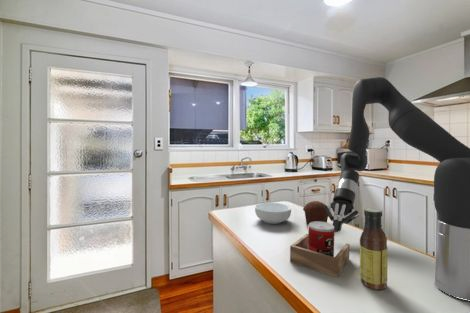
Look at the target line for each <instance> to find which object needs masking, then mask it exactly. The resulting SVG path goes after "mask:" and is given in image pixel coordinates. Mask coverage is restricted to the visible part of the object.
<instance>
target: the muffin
mask: <svg viewBox="0 0 470 313" xmlns="http://www.w3.org/2000/svg"><path fill="white" fill-rule="evenodd" d="M325 205H326V204H325V203H323V202H322V201H310V202H308V203H307V204H305V205H304V206H303V208H302V210H303V211H304V216H305V222H306V223H305V224H306V225H308V226H309V223H310V222H314V221H321V222H326V223H328V219H329V216H328V214H327V212H326V211H325V208H324V206H325Z"/></svg>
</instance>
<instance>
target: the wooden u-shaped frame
mask: <svg viewBox="0 0 470 313" xmlns="http://www.w3.org/2000/svg"><path fill="white" fill-rule="evenodd" d="M350 246H351V244H350V243H345V244H344V245H343V247H341V249H340V250H339V252H337V254H336V255H334V257H332V256H329V255H325V254H322V253H318V252H315V251H311V250H308V233H306V234H304V235H303V236H302V237H300V238H299V239H297V240H296V241H295V242H293V243H292V244H291V245H290V246H289V256H290V257H289V262H290V263H293V264H295V265H299V266H302V267H305V268H308V269H311V270H314V271H317V272H319V273H322V274H326V275H329V276H331V277H334V276H335V278H338V277H337V276H339V275H340V274H341V272H342V271H343V270H344V268H345V267H346V265H347V263H348V262H349V260H350ZM341 270H342V271H341ZM339 273H340V274H339Z"/></svg>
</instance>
